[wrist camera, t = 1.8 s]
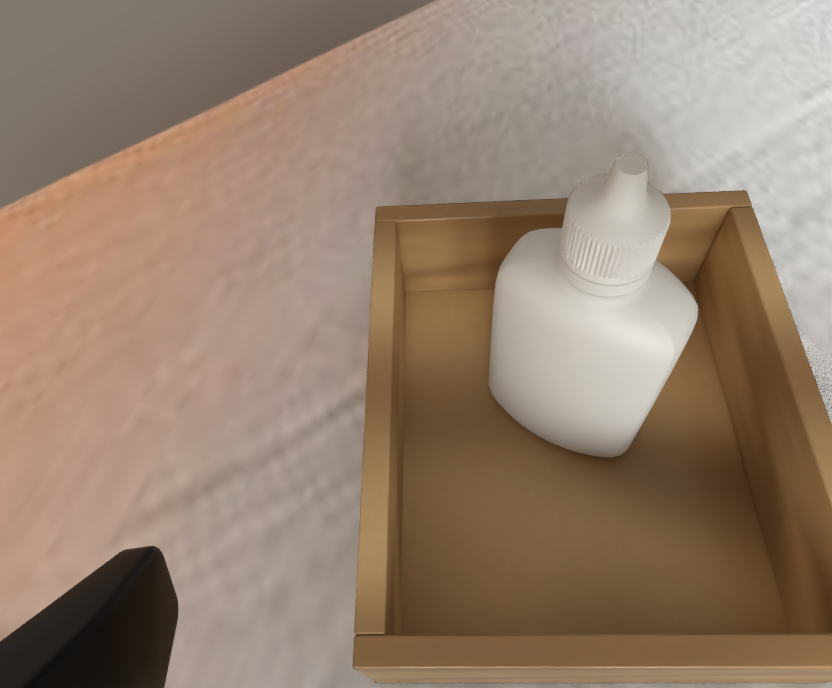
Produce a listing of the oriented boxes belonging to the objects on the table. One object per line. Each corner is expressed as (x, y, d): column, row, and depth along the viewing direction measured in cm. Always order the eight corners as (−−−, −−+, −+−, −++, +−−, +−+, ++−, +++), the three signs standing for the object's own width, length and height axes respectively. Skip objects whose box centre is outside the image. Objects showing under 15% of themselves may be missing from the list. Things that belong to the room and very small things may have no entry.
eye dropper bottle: (567, 326, 26) (632, 61, 16) (657, 438, 23) (805, 206, 13) (474, 373, 25) (479, 126, 15) (555, 495, 22) (630, 295, 12)
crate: (825, 682, 19) (922, 668, 15) (375, 683, 20) (352, 669, 16) (705, 270, 27) (747, 189, 23) (388, 282, 28) (375, 205, 24)
